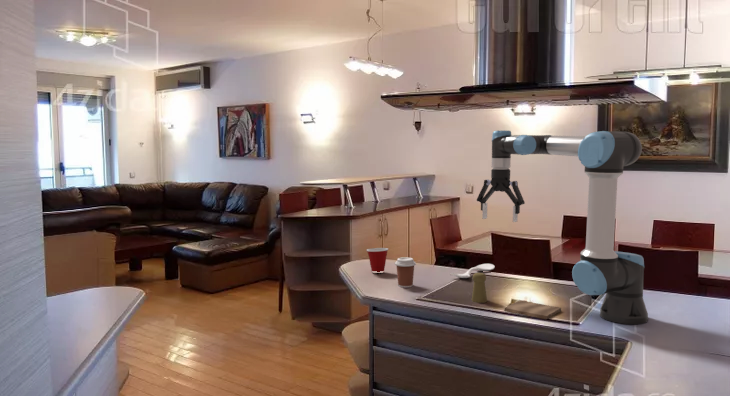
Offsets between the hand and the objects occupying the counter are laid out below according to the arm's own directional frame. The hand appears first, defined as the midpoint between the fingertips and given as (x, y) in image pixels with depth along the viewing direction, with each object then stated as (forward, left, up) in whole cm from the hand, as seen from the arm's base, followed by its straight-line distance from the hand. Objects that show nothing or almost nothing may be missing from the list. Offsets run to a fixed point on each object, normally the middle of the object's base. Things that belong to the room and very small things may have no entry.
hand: (499, 220), depth 224 cm
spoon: (+25, -23, -31) cm, 46 cm away
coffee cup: (+37, +16, -30) cm, 50 cm away
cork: (0, +17, -30) cm, 35 cm away
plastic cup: (+63, +4, -30) cm, 70 cm away
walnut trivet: (-22, +17, -30) cm, 41 cm away
